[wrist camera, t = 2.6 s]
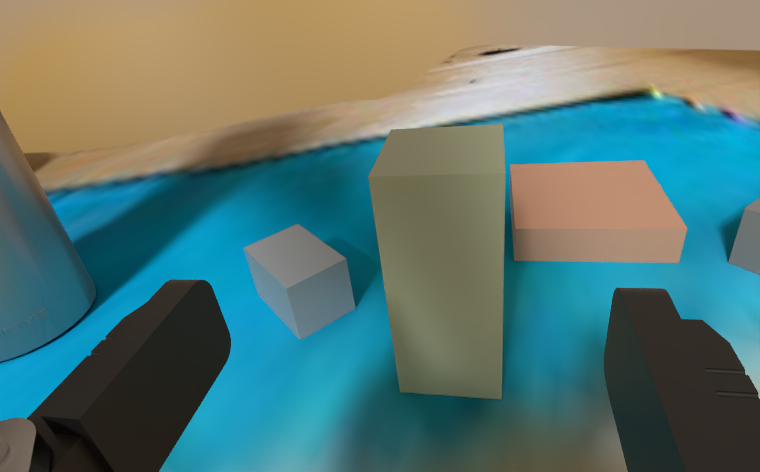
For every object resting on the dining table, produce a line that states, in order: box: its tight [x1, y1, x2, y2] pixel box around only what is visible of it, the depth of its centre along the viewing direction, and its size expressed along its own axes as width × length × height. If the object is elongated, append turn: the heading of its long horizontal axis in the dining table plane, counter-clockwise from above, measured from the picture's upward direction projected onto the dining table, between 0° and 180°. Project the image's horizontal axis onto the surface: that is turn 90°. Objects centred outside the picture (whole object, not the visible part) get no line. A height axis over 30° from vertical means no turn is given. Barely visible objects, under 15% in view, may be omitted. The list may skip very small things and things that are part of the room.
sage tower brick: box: [368, 124, 505, 400], centre depth 23 cm, size 5×5×12 cm
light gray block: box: [244, 224, 356, 340], centre depth 31 cm, size 6×4×4 cm, turn 37°
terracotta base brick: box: [509, 161, 687, 263], centre depth 35 cm, size 10×10×3 cm
